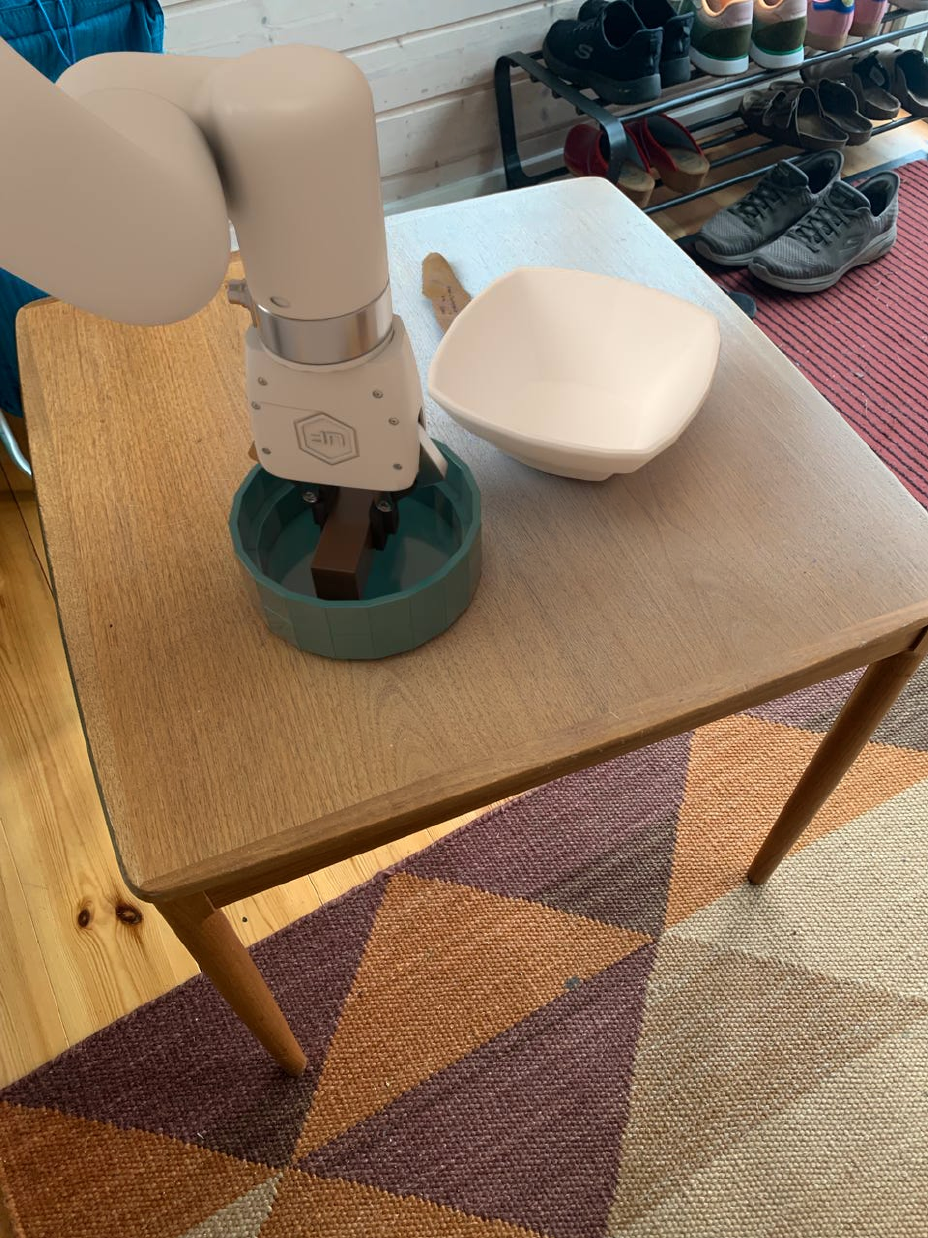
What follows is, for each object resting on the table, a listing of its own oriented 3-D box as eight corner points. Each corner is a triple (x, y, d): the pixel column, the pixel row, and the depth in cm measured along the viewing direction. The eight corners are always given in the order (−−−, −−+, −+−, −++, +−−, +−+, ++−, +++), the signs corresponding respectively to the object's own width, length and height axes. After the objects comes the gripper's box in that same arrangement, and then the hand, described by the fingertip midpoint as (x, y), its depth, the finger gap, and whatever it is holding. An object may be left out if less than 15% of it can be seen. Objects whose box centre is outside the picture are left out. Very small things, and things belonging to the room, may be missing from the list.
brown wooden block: (360, 605, 62) (354, 572, 59) (317, 599, 63) (309, 566, 60) (398, 479, 69) (395, 445, 66) (359, 475, 69) (354, 440, 67)
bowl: (401, 480, 74) (392, 396, 67) (503, 333, 85) (506, 248, 78) (648, 562, 68) (667, 480, 62) (724, 394, 79) (747, 308, 73)
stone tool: (403, 262, 91) (441, 353, 82) (407, 247, 90) (445, 338, 81) (452, 267, 93) (495, 356, 84) (456, 252, 92) (499, 341, 83)
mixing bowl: (232, 665, 64) (210, 608, 58) (265, 485, 74) (248, 423, 69) (482, 663, 63) (482, 606, 58) (480, 483, 74) (479, 421, 68)
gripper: (157, 335, 49) (231, 557, 64) (457, 367, 47) (462, 588, 62) (205, 256, 54) (264, 481, 68) (482, 282, 52) (481, 508, 67)
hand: (358, 530), depth 65 cm, fingers closed on brown wooden block, 3 cm apart
